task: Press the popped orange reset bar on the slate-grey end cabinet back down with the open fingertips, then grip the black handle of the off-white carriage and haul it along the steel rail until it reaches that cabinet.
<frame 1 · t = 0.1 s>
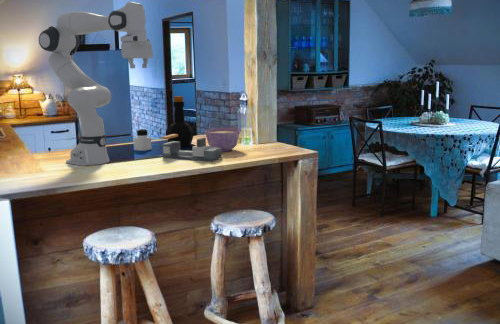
hand: (138, 68, 234), 48 cm above the countertop, tool pointing down, fingers open, 8 cm apart
bowl of food: (223, 150, 283), on the countertop
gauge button: (170, 136, 266), point 11 cm above the countertop, slide at 2.5 cm
carriage: (201, 146, 260), point 6 cm above the countertop, slide at 6.0 cm
medicine bottle: (143, 150, 290), on the countertop
bottle: (180, 145, 301), on the countertop
rail: (192, 157, 263), on the countertop
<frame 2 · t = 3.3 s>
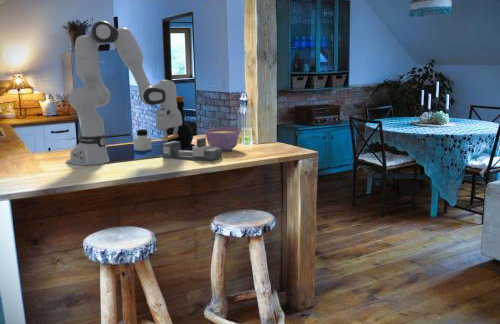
hand: (170, 135, 266), 11 cm above the countertop, tool pointing down
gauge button: (170, 137, 266), point 11 cm above the countertop, slide at 2.2 cm, touching gripper
everything else where it was.
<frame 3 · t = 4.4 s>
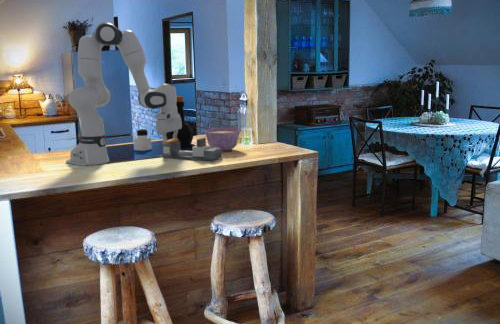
hand: (170, 139, 266), 9 cm above the countertop, tool pointing down, fingers open, 8 cm apart
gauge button: (170, 141, 267), point 8 cm above the countertop, slide at 0.0 cm
everything else where it was.
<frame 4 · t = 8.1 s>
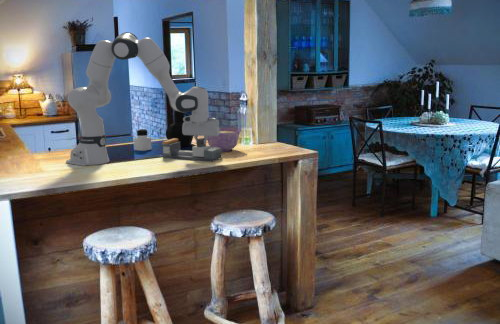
hand: (201, 143, 259), 8 cm above the countertop, tool pointing down, fingers closed on carriage, 2 cm apart
carriage: (201, 146, 260), point 6 cm above the countertop, slide at 6.0 cm, touching gripper
everything else where it was.
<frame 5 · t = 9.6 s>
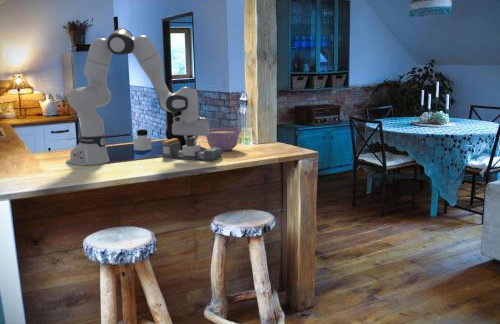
hand: (191, 143, 262), 8 cm above the countertop, tool pointing down, fingers closed on carriage, 2 cm apart
carriage: (191, 146, 262), point 6 cm above the countertop, slide at -0.1 cm, touching gripper
everything else where it was.
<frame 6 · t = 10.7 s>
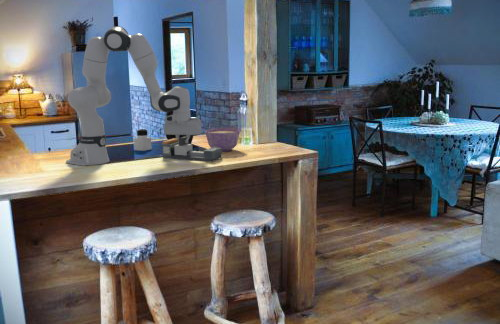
hand: (183, 143, 264), 8 cm above the countertop, tool pointing down, fingers closed on carriage, 2 cm apart
carriage: (183, 145, 264), point 6 cm above the countertop, slide at -5.0 cm, touching gripper
everything else where it was.
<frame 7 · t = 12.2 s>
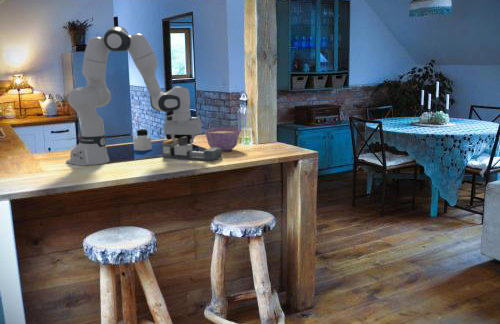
hand: (183, 142, 264), 8 cm above the countertop, tool pointing down, fingers open, 8 cm apart
carriage: (183, 145, 264), point 6 cm above the countertop, slide at -5.1 cm
everything else where it was.
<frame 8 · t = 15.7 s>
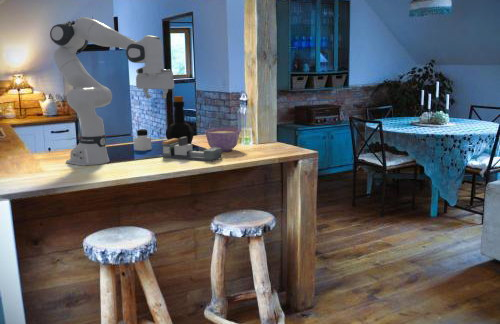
hand: (156, 98, 243), 33 cm above the countertop, tool pointing down, fingers open, 8 cm apart
nothing on the countertop moved.
at the end: carriage slide at -5.1 cm; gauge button slide at 0.0 cm; the gripper is holding nothing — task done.
